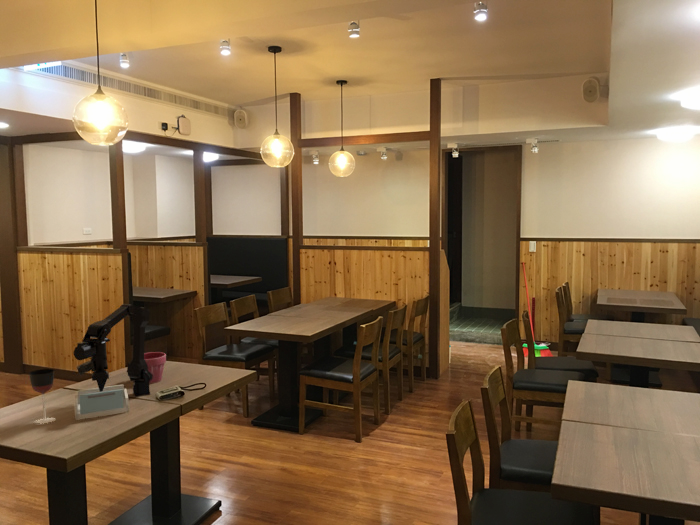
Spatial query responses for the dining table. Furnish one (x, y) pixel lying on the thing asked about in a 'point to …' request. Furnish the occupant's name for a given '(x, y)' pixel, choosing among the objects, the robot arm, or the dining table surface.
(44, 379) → the wineglass
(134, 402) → the dining table surface
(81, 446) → the dining table surface
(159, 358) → the plant pot
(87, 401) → the tailgate
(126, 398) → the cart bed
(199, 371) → the dining table surface
